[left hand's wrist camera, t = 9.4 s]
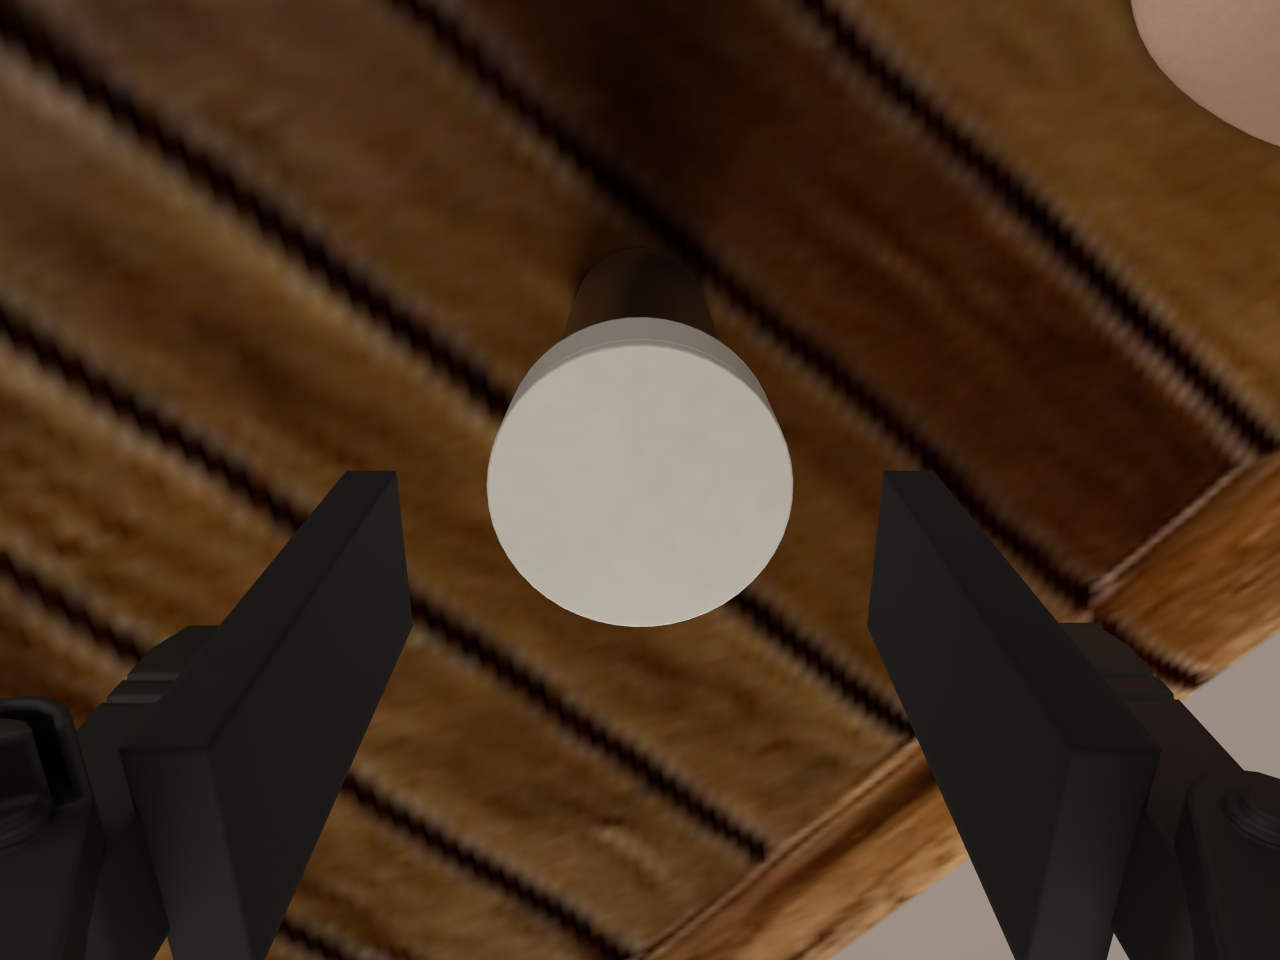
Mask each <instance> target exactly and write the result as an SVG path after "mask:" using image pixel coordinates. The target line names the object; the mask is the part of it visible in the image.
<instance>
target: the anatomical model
mask: <svg viewBox="0 0 1280 960" xmlns="http://www.w3.org/2000/svg"><path fill="white" fill-rule="evenodd" d="M1131 5H1132V11H1133V16H1134V19H1135V23H1136V26H1137V29H1138V32H1139V34H1140V36H1141V38H1142V40H1143V42H1144V44H1145V46H1146V48H1147V50H1148V52H1149V54H1150V55H1151V56H1152V58H1153V59H1154V61H1155V62H1156V63H1157V65H1158V66H1159V67H1160V69H1161V70H1162V71H1163V72H1164V73H1165V74H1166V75H1167V76H1168V77H1169V78H1170V79H1171V81H1172V82H1173V83H1174V84H1175V85H1176V86H1177V87H1178V88H1179V89H1181V90H1182V91H1183V92H1184V93H1185V94H1187V95H1188V96H1189V97H1190V98H1192V99H1193V100H1194V101H1195V102H1196V103H1198V104H1199V105H1200V106H1202V107H1204V108H1205V109H1207V110H1208V111H1210V112H1211V113H1213V114H1214V115H1216V116H1217V117H1219V118H1220V119H1222V120H1224V121H1225V122H1227V123H1229V124H1231V125H1233V126H1235V127H1236V128H1238V129H1240V130H1242V131H1244V132H1246V133H1248V134H1250V135H1252V136H1254V137H1256V138H1259V139H1261V140H1264V141H1266V142H1269V143H1271V144H1274V145H1278V146H1280V0H1131Z"/></svg>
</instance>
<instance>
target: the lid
mask: <svg viewBox="0 0 1280 960" xmlns="http://www.w3.org/2000/svg"><path fill="white" fill-rule="evenodd" d="M487 495H488V506H489V510H490V515H491V519H492V523H493V526H494V529H495V531H496V534H497V536H498V539H499V541H500V543H501V545H502V547H503V549H504V550H505V552H506V554H507V556H508V558H509V559H510V560H511V562H512V563H513V564H514V566H515V567H516V568H517V570H518V571H519V572H520V573H521V574H522V576H523V577H524V578H525V579H526V580H527V581H528V582H529V583H530V584H531V585H532V586H533V587H534V588H536V589H537V590H538V591H539V592H541V593H542V594H543V595H544V596H546V597H547V598H548V599H550V600H552V601H553V602H555V603H556V604H558V605H560V606H561V607H563V608H565V609H567V610H569V611H572V612H574V613H576V614H578V615H580V616H583V617H586V618H589V619H592V620H595V621H599V622H604V623H609V624H613V625H622V626H632V627H642V626H658V625H666V624H672V623H676V622H680V621H684V620H688V619H691V618H694V617H696V616H699V615H702V614H704V613H707V612H709V611H711V610H713V609H715V608H717V607H718V606H720V605H722V604H724V603H725V602H727V601H728V600H730V599H731V598H733V597H734V596H736V595H737V594H739V593H740V592H741V591H742V590H743V589H744V588H745V587H746V586H748V585H749V584H750V583H751V582H752V581H753V580H754V579H755V578H756V577H757V575H758V574H759V573H760V572H761V571H762V570H763V569H764V567H765V566H766V565H767V563H768V562H769V560H770V559H771V557H772V556H773V554H774V553H775V551H776V549H777V547H778V545H779V543H780V541H781V539H782V537H783V535H784V532H785V529H786V526H787V523H788V520H789V515H790V510H791V505H792V498H793V474H792V464H791V459H790V455H789V451H788V447H787V444H786V441H785V439H784V436H783V434H782V431H781V429H780V426H779V424H778V422H777V420H776V417H775V415H774V413H773V411H772V408H771V406H770V404H769V402H768V399H767V397H766V395H765V393H764V391H763V389H762V387H761V386H760V384H759V382H758V380H757V379H756V377H755V376H754V374H753V373H752V372H751V371H750V369H749V368H748V367H747V365H746V364H745V363H744V362H743V361H742V360H741V359H740V358H739V357H738V356H737V355H736V354H735V353H734V352H733V351H732V350H731V349H729V348H728V347H726V346H725V345H724V344H722V343H721V342H720V341H718V340H717V339H715V338H713V337H712V336H710V335H708V334H706V333H704V332H702V331H701V330H698V329H695V328H693V327H690V326H688V325H685V324H682V323H678V322H674V321H670V320H666V319H657V318H648V317H638V318H622V319H616V320H609V321H606V322H602V323H599V324H595V325H592V326H589V327H587V328H585V329H582V330H580V331H578V332H576V333H573V334H572V335H570V336H568V337H567V338H565V339H564V340H562V341H560V342H559V343H557V344H556V345H555V346H554V347H552V348H551V349H550V350H549V351H547V352H546V353H545V354H544V355H543V356H542V357H541V358H540V359H539V360H538V361H537V362H536V363H535V364H534V365H533V366H532V368H531V369H530V370H529V372H528V373H527V375H526V376H525V377H524V379H523V380H522V382H521V383H520V385H519V387H518V389H517V391H516V393H515V395H514V397H513V399H512V402H511V404H510V406H509V408H508V410H507V413H506V415H505V417H504V419H503V422H502V424H501V426H500V428H499V431H498V433H497V436H496V439H495V442H494V444H493V447H492V450H491V455H490V460H489V465H488V474H487Z"/></svg>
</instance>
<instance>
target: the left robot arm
mask: <svg viewBox="0 0 1280 960" xmlns="http://www.w3.org/2000/svg"><path fill="white" fill-rule="evenodd" d="M412 626H413V623H412V614H411V605H410V595H409V586H408V577H407V567H406V558H405V549H404V539H403V530H402V521H401V511H400V502H399V493H398V483H397V474H396V471H346V472H345V473H344V475H343V476H342V477H341V478H340V480H339V481H338V482H337V483H336V484H335V486H334V487H333V488H332V489H331V491H330V492H329V493H328V494H327V495H326V497H325V498H324V499H323V500H322V501H321V503H320V504H319V505H318V506H317V508H316V509H315V510H314V511H313V512H312V514H311V515H310V516H309V517H308V519H307V520H306V521H305V522H304V523H303V525H302V526H301V527H300V528H299V530H298V531H297V532H296V533H295V534H294V536H293V537H292V538H291V539H290V540H289V542H288V543H287V544H286V545H285V547H284V548H283V549H282V550H281V551H280V553H279V554H278V555H277V556H276V558H275V559H274V560H273V561H272V562H271V564H270V565H269V566H268V567H267V569H266V570H265V571H264V572H263V573H262V575H261V576H260V577H259V578H258V579H257V581H256V582H255V583H254V584H253V586H252V587H251V588H250V589H249V590H248V592H247V593H246V594H245V595H244V597H243V598H242V599H241V600H240V601H239V603H238V604H237V605H236V606H235V608H234V609H233V610H232V611H231V612H230V614H229V615H228V616H227V617H226V619H225V620H224V621H223V622H222V623H221V625H220V626H188V627H186V628H185V629H183V630H181V631H180V632H178V633H176V634H175V635H173V636H171V637H170V638H168V639H166V640H165V641H163V642H162V643H160V644H158V645H157V646H155V647H153V648H152V649H151V650H150V651H149V652H148V653H147V654H146V655H145V656H144V657H143V659H142V660H141V661H140V662H139V663H138V664H137V665H136V666H135V667H134V668H133V669H132V671H131V672H130V673H129V674H128V675H127V677H128V678H127V680H122V682H121V683H120V684H119V685H118V686H117V687H116V688H115V689H114V690H113V691H112V692H111V694H110V695H109V696H108V697H107V703H101V705H100V706H99V707H98V708H97V709H96V710H95V711H94V712H93V713H92V714H91V716H90V717H89V718H88V719H87V720H86V721H85V722H84V723H83V724H82V725H81V726H80V728H79V729H78V730H77V731H76V730H75V726H74V723H73V719H72V716H71V712H70V709H69V708H68V707H66V706H65V705H63V704H62V703H60V702H59V701H57V700H56V699H51V698H44V697H37V696H22V697H12V698H2V699H0V960H153V959H154V957H155V956H156V954H157V952H158V950H159V949H160V947H161V945H162V943H163V942H164V940H165V938H166V936H167V937H168V941H169V944H170V948H171V952H172V956H173V960H265V958H266V956H267V954H268V951H269V949H270V947H271V945H272V942H273V940H274V938H275V935H276V933H277V931H278V929H279V926H280V924H281V922H282V920H283V917H284V915H285V913H286V911H287V908H288V906H289V904H290V902H291V899H292V897H293V895H294V893H295V890H296V888H297V886H298V884H299V881H300V879H301V877H302V875H303V872H304V870H305V868H306V866H307V863H308V861H309V859H310V857H311V854H312V852H313V850H314V847H315V845H316V843H317V841H318V838H319V836H320V834H321V832H322V829H323V827H324V825H325V823H326V820H327V818H328V816H329V814H330V811H331V809H332V807H333V805H334V802H335V800H336V798H337V796H338V793H339V791H340V789H341V787H342V784H343V782H344V780H345V778H346V775H347V773H348V771H349V769H350V766H351V764H352V762H353V760H354V757H355V755H356V753H357V750H358V748H359V746H360V744H361V741H362V739H363V737H364V735H365V732H366V730H367V728H368V726H369V723H370V721H371V719H372V717H373V714H374V712H375V710H376V708H377V705H378V703H379V701H380V699H381V696H382V694H383V692H384V690H385V687H386V685H387V683H388V681H389V678H390V676H391V674H392V672H393V669H394V667H395V665H396V663H397V660H398V658H399V656H400V653H401V651H402V649H403V647H404V644H405V642H406V640H407V638H408V635H409V633H410V631H411V629H412ZM867 626H868V629H869V631H870V633H871V635H872V638H873V640H874V642H875V644H876V647H877V649H878V651H879V653H880V656H881V658H882V660H883V663H884V665H885V667H886V669H887V672H888V674H889V676H890V678H891V681H892V683H893V685H894V687H895V690H896V692H897V694H898V696H899V699H900V701H901V703H902V705H903V708H904V710H905V712H906V714H907V717H908V719H909V721H910V723H911V726H912V728H913V730H914V732H915V735H916V737H917V739H918V741H919V744H920V746H921V748H922V750H923V753H924V755H925V757H926V760H927V762H928V764H929V766H930V769H931V771H932V773H933V775H934V778H935V780H936V782H937V784H938V787H939V789H940V791H941V793H942V796H943V798H944V800H945V802H946V805H947V807H948V809H949V811H950V814H951V816H952V818H953V820H954V823H955V825H956V827H957V829H958V832H959V834H960V836H961V838H962V841H963V843H964V845H965V848H966V850H967V852H968V854H969V857H970V859H971V861H972V863H973V865H974V868H975V870H976V872H977V874H978V877H979V879H980V881H981V884H982V886H983V888H984V890H985V893H986V895H987V897H988V899H989V902H990V904H991V906H992V908H993V911H994V913H995V915H996V917H997V920H998V922H999V924H1000V926H1001V929H1002V931H1003V933H1004V935H1005V938H1006V940H1007V942H1008V945H1009V947H1010V949H1011V951H1012V954H1013V956H1014V958H1015V960H1107V956H1108V952H1109V948H1110V944H1111V941H1112V937H1113V933H1114V934H1115V935H1116V937H1117V939H1118V940H1119V942H1120V944H1121V946H1122V947H1123V949H1124V951H1125V953H1126V954H1127V956H1128V958H1129V959H1130V960H1280V779H1278V778H1275V777H1272V776H1268V775H1265V774H1262V773H1259V772H1252V771H1244V770H1243V769H1242V768H1241V767H1240V766H1239V765H1238V764H1237V762H1236V761H1235V760H1234V759H1233V758H1232V757H1231V756H1230V755H1229V754H1228V753H1227V752H1226V750H1225V749H1224V748H1223V747H1222V746H1221V745H1220V744H1219V743H1218V742H1217V741H1216V740H1215V739H1214V737H1213V736H1212V735H1211V734H1210V733H1209V732H1208V731H1207V730H1206V729H1205V728H1204V727H1203V725H1202V724H1201V723H1200V722H1199V721H1198V720H1197V719H1196V718H1195V717H1194V716H1193V715H1192V713H1191V712H1190V711H1189V710H1188V709H1187V708H1186V707H1185V706H1184V705H1183V704H1182V703H1181V701H1180V700H1174V697H1173V696H1174V694H1173V693H1172V692H1171V691H1170V690H1169V688H1168V687H1167V686H1166V685H1165V684H1164V683H1163V682H1162V681H1161V680H1160V679H1159V678H1158V677H1154V676H1153V671H1152V670H1151V669H1150V668H1149V667H1148V666H1147V664H1146V663H1145V662H1144V661H1143V660H1142V659H1141V658H1140V657H1139V656H1138V655H1137V654H1136V653H1135V651H1134V650H1133V649H1132V648H1131V647H1130V646H1129V645H1127V644H1126V643H1124V642H1122V641H1121V640H1119V639H1117V638H1116V637H1114V636H1112V635H1111V634H1109V633H1108V632H1106V631H1104V630H1103V629H1101V628H1099V627H1098V626H1096V625H1094V624H1093V623H1058V622H1057V621H1056V620H1055V619H1054V617H1053V616H1052V615H1051V614H1050V612H1049V611H1048V610H1047V609H1046V608H1045V606H1044V605H1043V604H1042V603H1041V601H1040V600H1039V599H1038V598H1037V597H1036V595H1035V594H1034V593H1033V592H1032V590H1031V589H1030V588H1029V587H1028V586H1027V584H1026V583H1025V582H1024V581H1023V579H1022V578H1021V577H1020V576H1019V575H1018V573H1017V572H1016V571H1015V570H1014V569H1013V567H1012V566H1011V565H1010V564H1009V562H1008V561H1007V560H1006V559H1005V558H1004V556H1003V555H1002V554H1001V553H1000V551H999V550H998V549H997V548H996V547H995V545H994V544H993V543H992V542H991V540H990V539H989V538H988V537H987V536H986V534H985V533H984V532H983V531H982V530H981V528H980V527H979V526H978V525H977V523H976V522H975V521H974V520H973V519H972V517H971V516H970V515H969V514H968V512H967V511H966V510H965V509H964V508H963V506H962V505H961V504H960V503H959V501H958V500H957V499H956V498H955V497H954V495H953V494H952V493H951V492H950V491H949V489H948V488H947V487H946V486H945V484H944V483H943V482H942V481H941V480H940V478H939V477H938V476H937V475H936V473H935V472H934V471H884V474H883V483H882V493H881V502H880V511H879V521H878V530H877V539H876V549H875V558H874V567H873V577H872V586H871V595H870V605H869V614H868V623H867Z"/></svg>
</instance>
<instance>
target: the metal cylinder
mask: <svg viewBox="0 0 1280 960" xmlns="http://www.w3.org/2000/svg"><path fill="white" fill-rule="evenodd" d="M638 317H648V318H657V319H666V320H670V321H674V322H678V323H682V324H685V325H688V326H690V327H693V328H695V329H698V330H701V331H702V332H704V333H706V334H708V335H710V336H712V337H713V338H715V339H717V340H718V341H720V340H719V337H718V334H717V332H716V329H715V326H714V323H713V320H712V317H711V314H710V312H709V309H708V306H707V303H706V300H705V297H704V294H703V292H702V289H701V287H700V285H699V283H698V281H697V279H696V278H695V276H694V275H693V274H692V272H691V271H690V270H689V269H688V268H687V267H686V266H685V265H684V264H683V263H682V262H680V261H679V260H678V259H676V258H675V257H673V256H671V255H669V254H667V253H665V252H662V251H659V250H655V249H650V248H630V249H625V250H621V251H618V252H615V253H613V254H611V255H609V256H607V257H605V258H604V259H602V260H601V261H600V262H598V263H597V264H596V265H595V266H594V267H593V268H592V269H591V270H590V271H589V272H588V273H587V275H586V276H585V278H584V279H583V281H582V283H581V285H580V287H579V289H578V292H577V295H576V298H575V301H574V303H573V306H572V309H571V312H570V315H569V318H568V321H567V323H566V326H565V329H564V332H563V335H562V338H561V341H562V340H564V339H565V338H567V337H568V336H570V335H572V334H573V333H576V332H578V331H580V330H582V329H585V328H587V327H589V326H592V325H595V324H599V323H602V322H606V321H609V320H616V319H622V318H638Z"/></svg>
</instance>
